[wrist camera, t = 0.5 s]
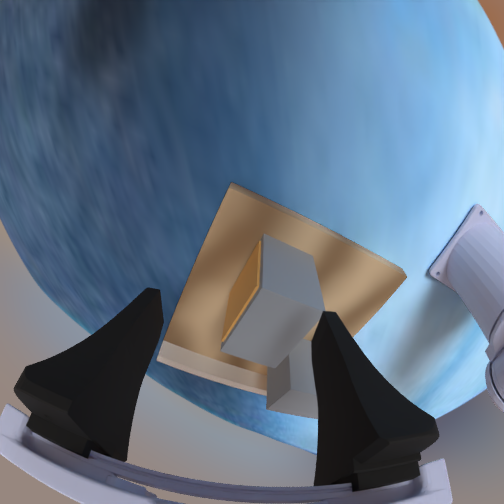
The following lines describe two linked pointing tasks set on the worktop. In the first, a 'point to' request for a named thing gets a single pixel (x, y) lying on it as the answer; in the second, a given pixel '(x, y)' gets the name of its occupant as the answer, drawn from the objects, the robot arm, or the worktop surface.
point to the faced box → (293, 384)
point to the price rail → (212, 369)
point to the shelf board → (239, 251)
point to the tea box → (272, 303)
